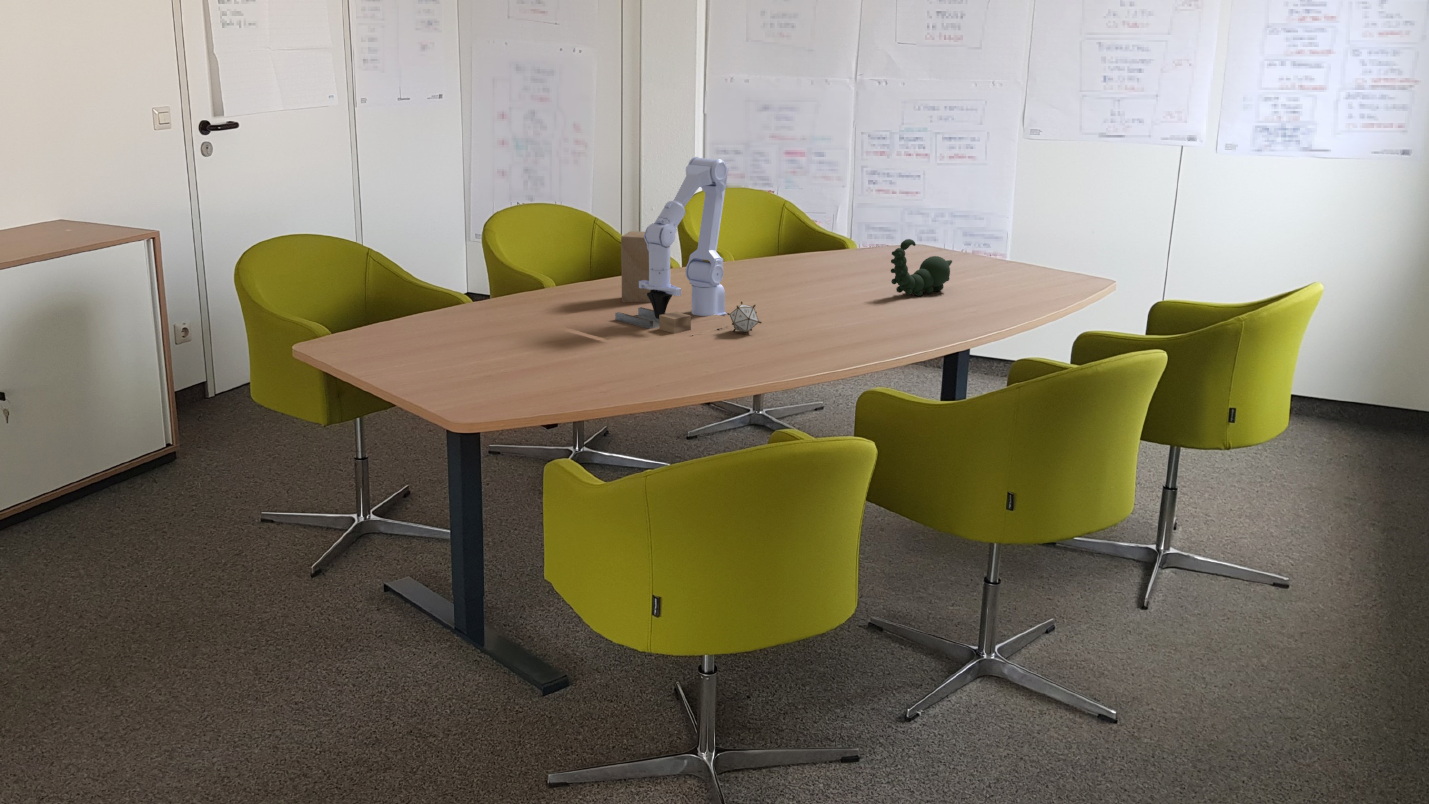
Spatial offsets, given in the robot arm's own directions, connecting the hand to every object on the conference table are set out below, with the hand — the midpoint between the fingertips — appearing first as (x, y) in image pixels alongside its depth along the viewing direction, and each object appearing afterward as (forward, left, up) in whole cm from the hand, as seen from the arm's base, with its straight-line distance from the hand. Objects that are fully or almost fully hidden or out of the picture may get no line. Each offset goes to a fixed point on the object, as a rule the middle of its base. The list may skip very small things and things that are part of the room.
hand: (659, 317), depth 327 cm
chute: (0, -2, -3) cm, 3 cm away
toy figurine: (-89, +24, -3) cm, 92 cm away
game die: (-13, +19, -3) cm, 23 cm away
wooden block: (-19, -28, -3) cm, 34 cm away
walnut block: (+1, +7, -2) cm, 7 cm away
